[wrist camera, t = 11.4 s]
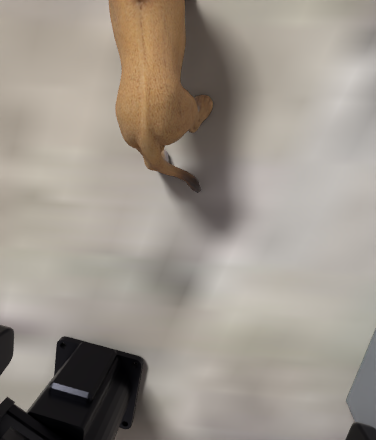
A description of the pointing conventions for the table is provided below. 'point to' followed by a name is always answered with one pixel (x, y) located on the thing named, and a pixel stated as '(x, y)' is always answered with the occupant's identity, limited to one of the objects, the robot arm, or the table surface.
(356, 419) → the low wall
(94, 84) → the table surface
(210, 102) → the lion figurine
